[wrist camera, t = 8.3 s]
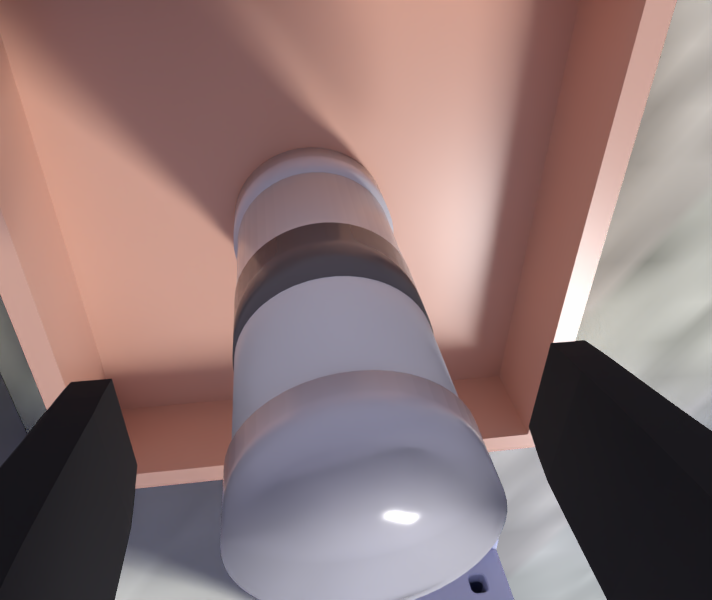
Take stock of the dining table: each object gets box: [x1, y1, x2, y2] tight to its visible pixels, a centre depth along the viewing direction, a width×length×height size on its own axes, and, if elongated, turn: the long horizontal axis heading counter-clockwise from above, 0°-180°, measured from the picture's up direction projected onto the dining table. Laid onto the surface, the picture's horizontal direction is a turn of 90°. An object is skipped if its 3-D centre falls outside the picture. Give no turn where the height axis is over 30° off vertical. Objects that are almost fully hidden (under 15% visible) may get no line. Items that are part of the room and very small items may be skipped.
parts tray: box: [0, 0, 677, 489], centre depth 14 cm, size 13×13×3 cm
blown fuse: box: [220, 147, 507, 600], centre depth 11 cm, size 4×4×9 cm
